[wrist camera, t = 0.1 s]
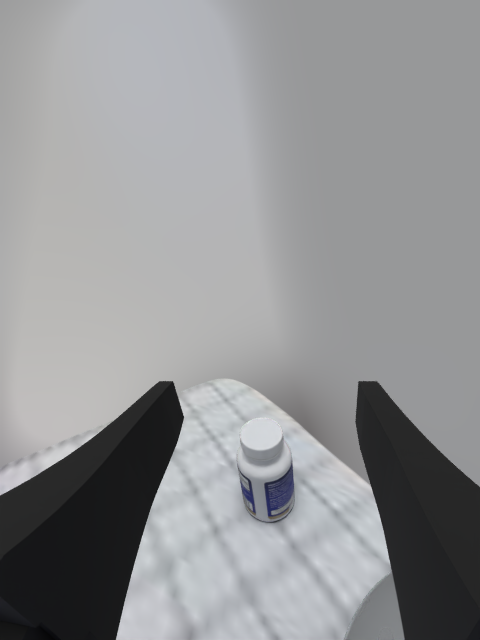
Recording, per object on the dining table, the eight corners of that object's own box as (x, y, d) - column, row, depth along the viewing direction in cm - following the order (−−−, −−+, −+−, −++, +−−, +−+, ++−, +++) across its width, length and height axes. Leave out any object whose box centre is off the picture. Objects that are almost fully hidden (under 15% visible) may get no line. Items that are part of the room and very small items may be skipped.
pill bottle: (296, 478, 32) (293, 415, 28) (292, 528, 27) (287, 460, 24) (249, 471, 33) (240, 410, 30) (237, 517, 29) (225, 452, 25)
